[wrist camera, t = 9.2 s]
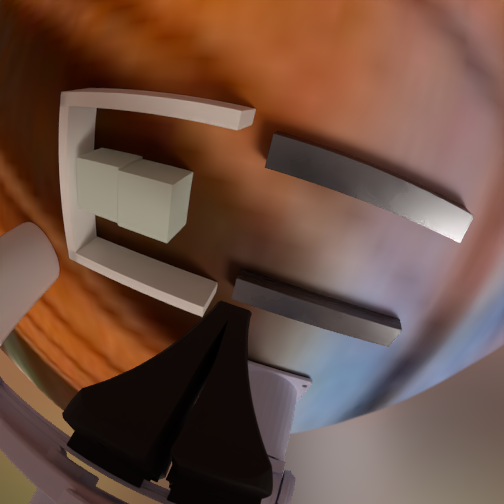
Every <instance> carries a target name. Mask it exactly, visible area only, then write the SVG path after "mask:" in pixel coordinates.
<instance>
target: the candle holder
mask: <svg viewBox="0 0 504 504" xmlns="http://www.w3.org/2000/svg"><path fill="white" fill-rule="evenodd" d="M59 273H60V267H59V261H58V258H57V255H56V252H55V250H54V248H53V246H52V244H51V242H50V241H49V239H48V237H47V236H46V235H45V233H44V232H43V231H42V230H41V229H40V228H39V227H38V226H37V225H35V224H34V223H32V222H24V223H22V224H20V225H18V226H16V227H15V228H13V229H11V230H9V231H8V232H6V233H5V234H3V235H1V236H0V346H1V345H2V343H3V342H4V340H5V339H6V338H7V336H8V335H9V334H10V333H11V331H12V330H13V329H14V328H15V327H16V325H17V324H18V323H19V322H20V321H21V319H22V318H23V317H24V316H25V315H26V313H27V312H28V311H29V310H30V309H31V308H32V307H33V305H34V304H35V303H36V302H37V301H38V300H39V299H40V298H41V296H42V295H43V294H44V293H45V292H46V291H47V290H48V289H49V288H50V287H51V286H52V284H53V283H54V282H55V281H56V280H57V278H58V277H59Z"/></svg>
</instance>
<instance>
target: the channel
mask: <svg viewBox="0 0 504 504" xmlns="http://www.w3.org/2000/svg"><path fill="white" fill-rule="evenodd" d="M265 168H268V169H271V170H275V171H278V172H281V173H284V174H288V175H291V176H294V177H297V178H300V179H303V180H306V181H309V182H312V183H315V184H318V185H321V186H324V187H327V188H330V189H332V190H335V191H338V192H341V193H344V194H346V195H349V196H352V197H354V198H357V199H360V200H362V201H365V202H368V203H370V204H373V205H375V206H378V207H380V208H383V209H385V210H388V211H390V212H393V213H395V214H397V215H400V216H402V217H404V218H407V219H409V220H411V221H414V222H416V223H418V224H421V225H423V226H425V227H427V228H429V229H432V230H434V231H436V232H438V233H440V234H442V235H444V236H447V237H449V238H451V239H453V240H455V241H457V242H459V243H460V242H461V240H462V238H463V236H464V234H465V232H466V230H467V229H468V227H469V225H470V223H471V221H472V219H473V217H474V216H473V215H472V214H471V213H470V212H469V211H468V210H467V209H466V208H464V207H463V206H461V205H459V204H457V203H455V202H454V201H452V200H450V199H448V198H446V197H444V196H442V195H440V194H438V193H436V192H434V191H432V190H430V189H428V188H426V187H424V186H422V185H420V184H418V183H416V182H414V181H411V180H409V179H407V178H405V177H403V176H400V175H398V174H396V173H394V172H391V171H389V170H387V169H384V168H382V167H379V166H377V165H374V164H372V163H369V162H367V161H364V160H362V159H359V158H357V157H354V156H351V155H349V154H346V153H343V152H340V151H338V150H335V149H332V148H329V147H326V146H323V145H320V144H317V143H314V142H311V141H308V140H305V139H301V138H298V137H295V136H292V135H288V134H285V133H281V132H278V131H277V132H275V133H274V134H273V138H272V142H271V146H270V149H269V153H268V157H267V161H266V165H265ZM232 299H234V300H237V301H240V302H243V303H246V304H248V305H251V306H254V307H257V308H260V309H263V310H266V311H269V312H272V313H275V314H279V315H282V316H285V317H288V318H291V319H294V320H297V321H300V322H304V323H307V324H310V325H313V326H317V327H320V328H323V329H327V330H330V331H333V332H337V333H340V334H344V335H347V336H351V337H354V338H358V339H361V340H365V341H369V342H372V343H376V344H380V345H383V346H387V347H389V346H390V345H391V344H392V342H393V341H394V340H395V339H396V337H397V336H398V335H399V334H400V332H401V331H402V328H401V323H400V320H399V319H396V318H393V317H389V316H386V315H383V314H380V313H376V312H373V311H370V310H367V309H364V308H360V307H357V306H354V305H351V304H348V303H344V302H341V301H338V300H335V299H332V298H329V297H326V296H323V295H319V294H316V293H313V292H310V291H307V290H304V289H301V288H298V287H295V286H292V285H289V284H286V283H283V282H280V281H277V280H274V279H271V278H268V277H265V276H262V275H259V274H256V273H253V272H250V271H247V270H244V269H241V270H240V272H239V274H238V276H237V279H236V283H235V287H234V291H233V295H232Z"/></svg>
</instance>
